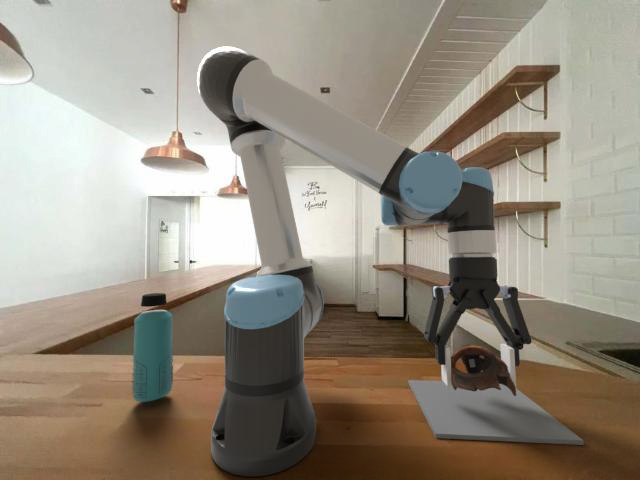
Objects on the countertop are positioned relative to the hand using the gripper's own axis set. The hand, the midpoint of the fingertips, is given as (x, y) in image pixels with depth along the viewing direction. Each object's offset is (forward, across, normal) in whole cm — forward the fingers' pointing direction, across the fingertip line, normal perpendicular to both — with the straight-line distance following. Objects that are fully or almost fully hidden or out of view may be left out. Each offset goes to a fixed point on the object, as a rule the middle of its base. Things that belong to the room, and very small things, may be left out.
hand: (477, 383), depth 47 cm
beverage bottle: (+4, +59, +2) cm, 59 cm away
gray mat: (+4, 0, 0) cm, 4 cm away
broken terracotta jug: (+1, 0, 0) cm, 1 cm away
